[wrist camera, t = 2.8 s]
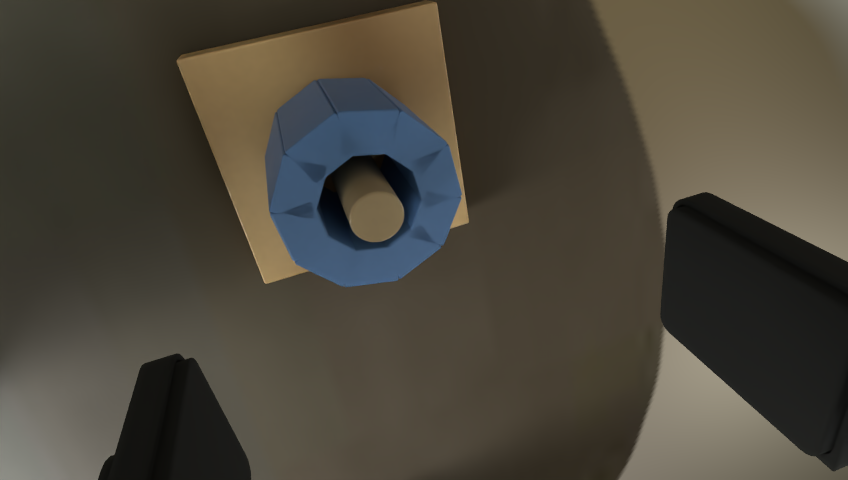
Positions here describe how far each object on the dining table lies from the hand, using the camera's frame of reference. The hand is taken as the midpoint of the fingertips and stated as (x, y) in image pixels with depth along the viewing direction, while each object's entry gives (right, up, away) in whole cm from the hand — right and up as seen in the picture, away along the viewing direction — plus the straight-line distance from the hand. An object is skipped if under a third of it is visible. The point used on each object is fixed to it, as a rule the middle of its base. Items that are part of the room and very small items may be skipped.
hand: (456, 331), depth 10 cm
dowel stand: (-4, +6, +11) cm, 13 cm away
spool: (-4, +5, +10) cm, 12 cm away
